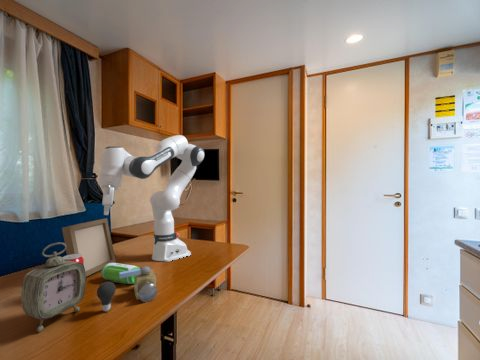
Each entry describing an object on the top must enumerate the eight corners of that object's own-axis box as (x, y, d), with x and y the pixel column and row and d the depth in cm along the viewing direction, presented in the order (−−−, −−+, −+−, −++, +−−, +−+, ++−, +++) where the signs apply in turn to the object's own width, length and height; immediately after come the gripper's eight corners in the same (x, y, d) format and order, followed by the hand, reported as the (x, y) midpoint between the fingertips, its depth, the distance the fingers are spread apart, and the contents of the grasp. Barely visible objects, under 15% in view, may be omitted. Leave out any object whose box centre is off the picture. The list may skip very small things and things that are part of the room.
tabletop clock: (36, 337, 64) (36, 251, 64) (17, 330, 67) (17, 247, 68) (85, 310, 78) (85, 238, 78) (68, 305, 81) (68, 236, 81)
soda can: (64, 300, 84) (64, 261, 84) (55, 295, 88) (55, 257, 88) (87, 291, 91) (87, 255, 91) (78, 287, 95) (78, 252, 95)
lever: (148, 270, 92) (148, 265, 92) (150, 273, 89) (150, 268, 89) (119, 276, 86) (119, 271, 86) (119, 279, 83) (119, 274, 83)
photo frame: (115, 264, 121) (115, 218, 121) (79, 281, 100) (79, 226, 100) (92, 262, 124) (92, 217, 124) (53, 279, 103) (53, 225, 103)
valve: (150, 284, 97) (150, 265, 97) (158, 299, 85) (157, 278, 85) (133, 288, 93) (133, 269, 93) (138, 304, 81) (138, 282, 81)
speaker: (143, 280, 101) (143, 264, 101) (130, 287, 94) (130, 270, 94) (113, 275, 107) (113, 259, 107) (99, 282, 100) (99, 265, 100)
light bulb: (102, 306, 80) (102, 279, 80) (118, 306, 80) (118, 278, 80) (93, 316, 74) (93, 286, 74) (110, 315, 75) (110, 285, 75)
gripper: (118, 184, 91) (114, 217, 91) (117, 181, 109) (114, 209, 109) (100, 182, 88) (96, 217, 88) (102, 180, 106) (99, 208, 106)
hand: (106, 212), depth 99 cm, fingers open, 8 cm apart
